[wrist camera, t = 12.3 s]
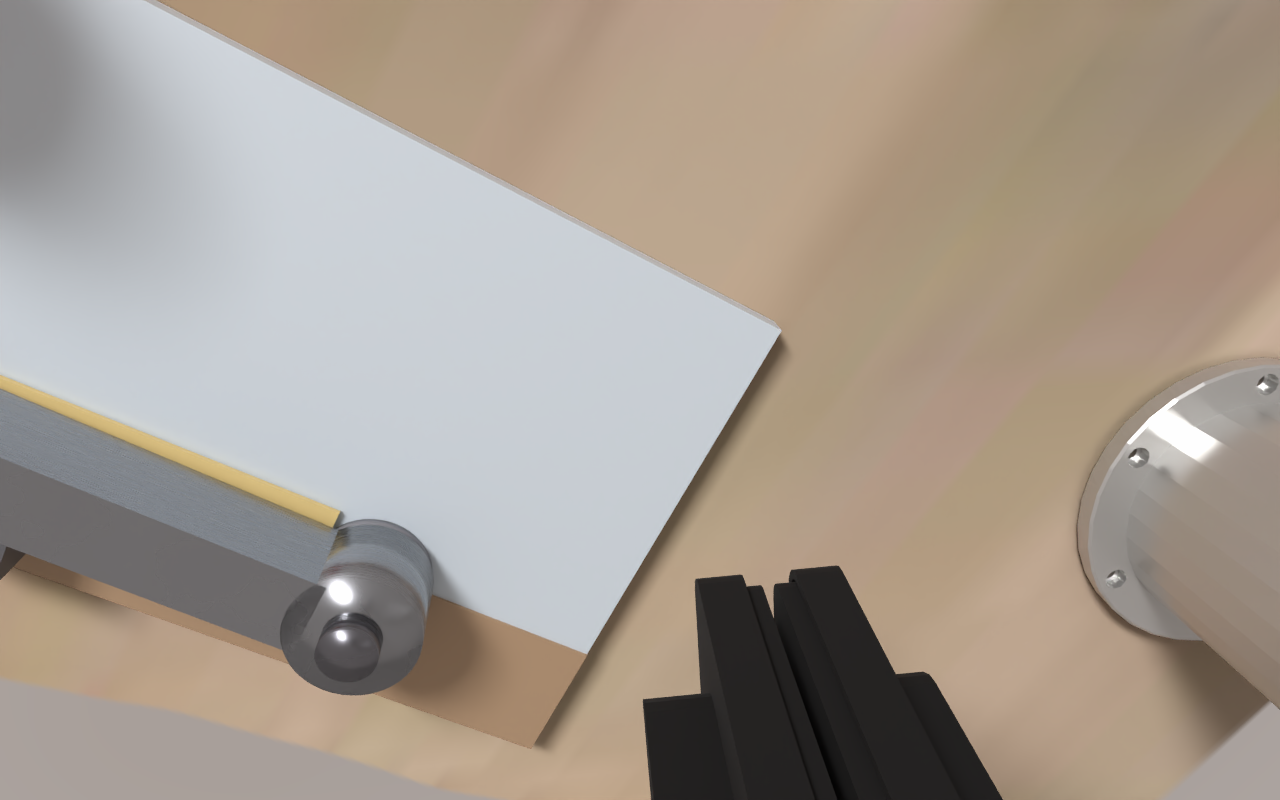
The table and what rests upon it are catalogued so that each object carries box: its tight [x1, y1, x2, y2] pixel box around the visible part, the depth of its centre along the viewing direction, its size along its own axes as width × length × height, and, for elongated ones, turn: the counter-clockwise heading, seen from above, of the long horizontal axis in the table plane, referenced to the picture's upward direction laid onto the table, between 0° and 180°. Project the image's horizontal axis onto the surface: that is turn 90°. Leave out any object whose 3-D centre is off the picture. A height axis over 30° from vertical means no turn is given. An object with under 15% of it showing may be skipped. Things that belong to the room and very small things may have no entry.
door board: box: [0, 0, 782, 749], centre depth 32 cm, size 26×20×4 cm
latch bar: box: [0, 389, 434, 695], centre depth 31 cm, size 18×5×5 cm, turn 60°
